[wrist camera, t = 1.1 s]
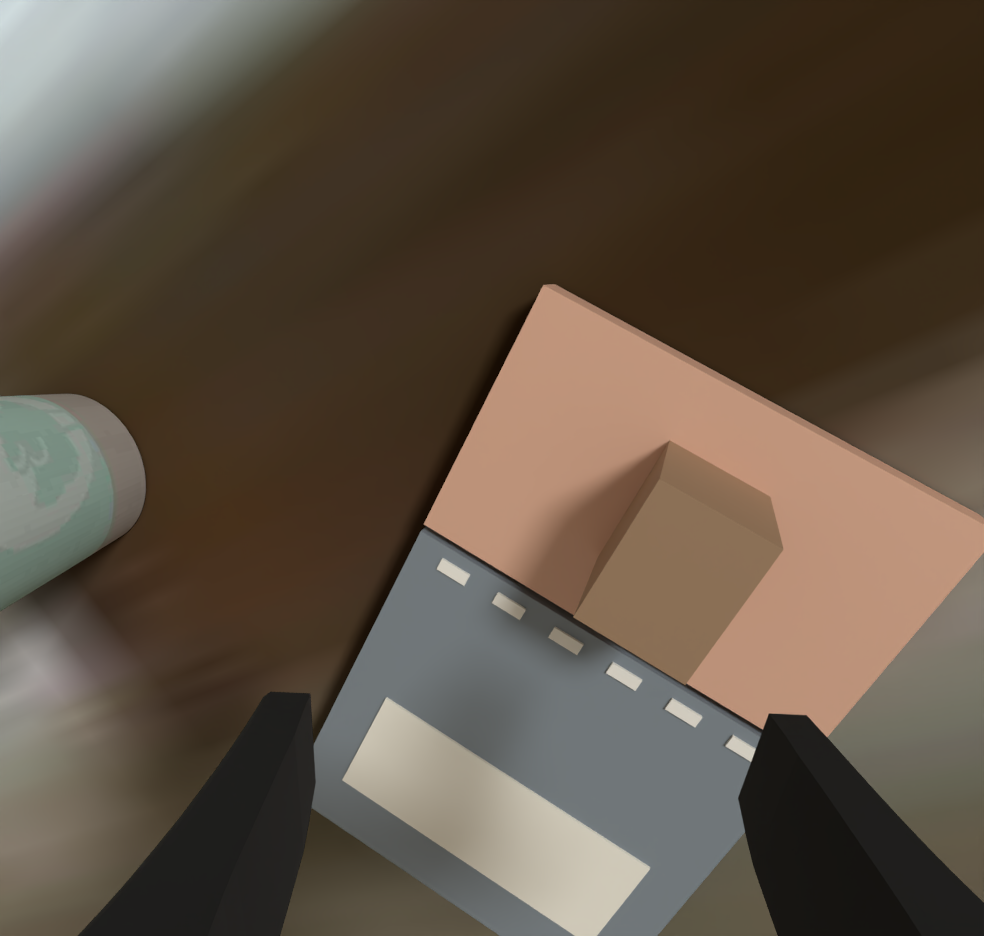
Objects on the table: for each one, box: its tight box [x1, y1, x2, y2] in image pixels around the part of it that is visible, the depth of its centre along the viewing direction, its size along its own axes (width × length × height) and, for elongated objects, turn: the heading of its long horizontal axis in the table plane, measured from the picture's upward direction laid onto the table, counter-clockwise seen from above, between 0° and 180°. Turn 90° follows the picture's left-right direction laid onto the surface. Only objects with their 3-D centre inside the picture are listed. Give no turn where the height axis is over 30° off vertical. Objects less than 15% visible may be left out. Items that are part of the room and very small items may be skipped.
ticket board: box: [311, 526, 763, 936], centre depth 25 cm, size 13×12×2 cm
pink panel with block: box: [424, 284, 984, 737], centre depth 19 cm, size 13×8×6 cm, turn 63°
